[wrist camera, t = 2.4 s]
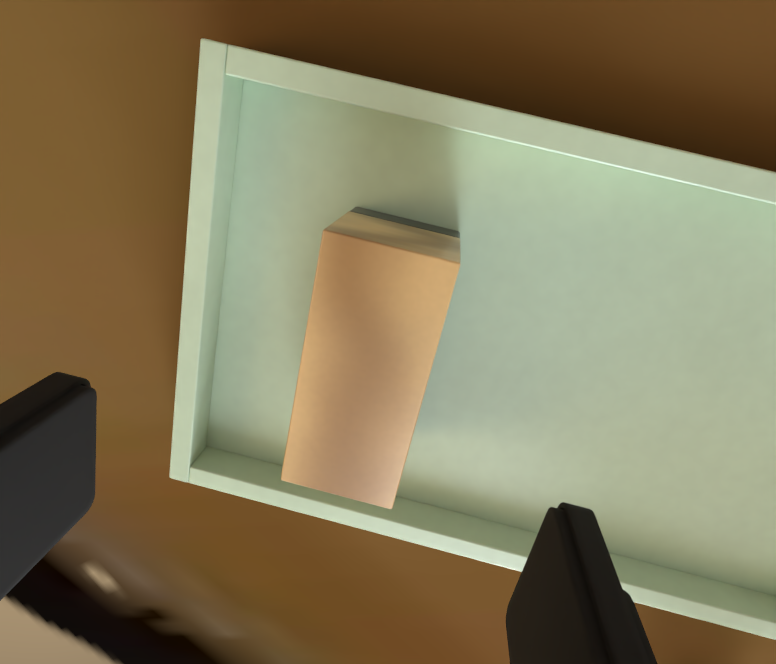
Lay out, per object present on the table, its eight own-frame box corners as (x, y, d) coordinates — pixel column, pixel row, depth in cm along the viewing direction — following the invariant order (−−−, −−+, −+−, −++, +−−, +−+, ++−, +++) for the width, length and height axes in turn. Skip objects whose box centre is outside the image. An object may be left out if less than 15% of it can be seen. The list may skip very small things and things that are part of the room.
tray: (1037, 237, 16) (1126, 253, 14) (783, 601, 22) (818, 652, 20) (232, 49, 17) (199, 36, 15) (195, 445, 23) (168, 478, 21)
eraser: (460, 231, 17) (461, 263, 13) (405, 432, 20) (392, 510, 16) (355, 205, 17) (322, 229, 13) (316, 409, 20) (279, 480, 16)
